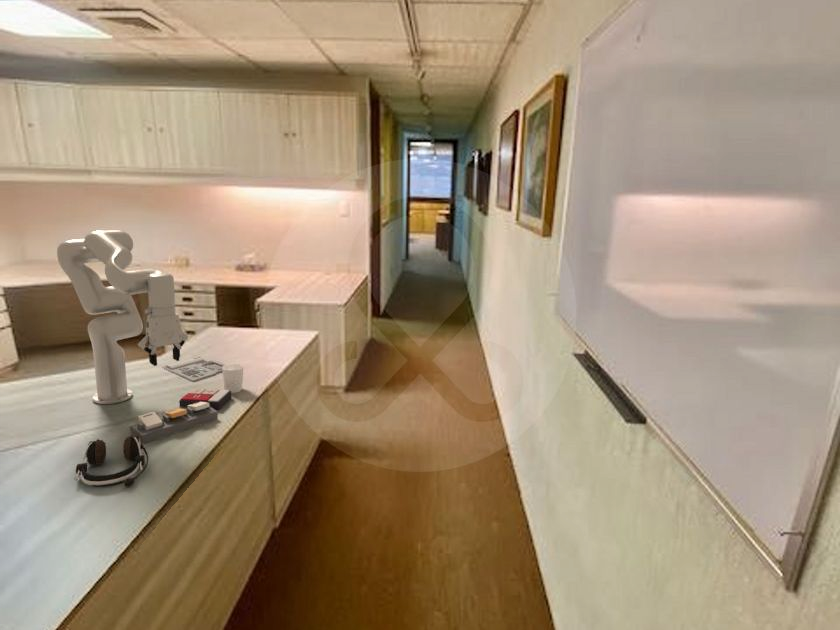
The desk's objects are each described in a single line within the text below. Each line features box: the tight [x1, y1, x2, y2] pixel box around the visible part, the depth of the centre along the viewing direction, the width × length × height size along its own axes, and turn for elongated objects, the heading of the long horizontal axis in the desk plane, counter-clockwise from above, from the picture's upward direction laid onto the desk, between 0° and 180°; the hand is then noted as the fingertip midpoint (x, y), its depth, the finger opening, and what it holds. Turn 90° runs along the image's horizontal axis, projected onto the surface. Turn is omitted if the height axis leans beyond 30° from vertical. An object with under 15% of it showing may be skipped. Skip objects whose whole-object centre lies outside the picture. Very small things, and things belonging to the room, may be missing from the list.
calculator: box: [178, 387, 233, 412], centre depth 180 cm, size 11×4×15 cm
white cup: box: [221, 362, 244, 394], centre depth 192 cm, size 8×8×10 cm
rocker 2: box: [187, 402, 210, 411], centre depth 167 cm, size 5×6×2 cm
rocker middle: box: [163, 407, 187, 418], centre depth 161 cm, size 5×6×2 cm
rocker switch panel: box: [129, 402, 219, 445], centre depth 161 cm, size 25×9×5 cm, turn 142°
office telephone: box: [161, 356, 226, 383], centre depth 212 cm, size 23×3×20 cm
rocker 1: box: [138, 411, 162, 430], centre depth 155 cm, size 5×6×2 cm
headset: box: [74, 434, 149, 488], centre depth 134 cm, size 17×8×20 cm
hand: (165, 361), depth 160 cm, fingers open, 6 cm apart
